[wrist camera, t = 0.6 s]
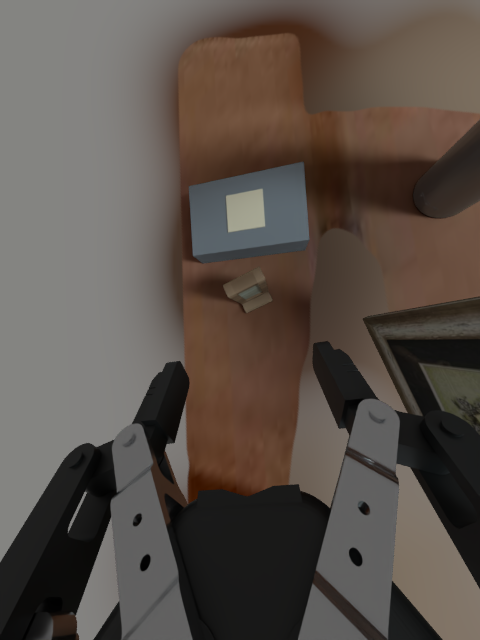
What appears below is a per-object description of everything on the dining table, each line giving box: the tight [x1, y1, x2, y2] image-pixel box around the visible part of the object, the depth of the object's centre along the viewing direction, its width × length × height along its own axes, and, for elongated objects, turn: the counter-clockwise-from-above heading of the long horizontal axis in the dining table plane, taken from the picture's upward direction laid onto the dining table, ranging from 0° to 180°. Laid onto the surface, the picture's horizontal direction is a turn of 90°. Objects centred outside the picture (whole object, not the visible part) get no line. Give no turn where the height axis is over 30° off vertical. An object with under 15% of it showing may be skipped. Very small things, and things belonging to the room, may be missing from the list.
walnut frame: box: [223, 267, 273, 313], centre depth 34 cm, size 6×6×13 cm
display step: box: [189, 162, 309, 263], centre depth 38 cm, size 22×14×5 cm, turn 94°
